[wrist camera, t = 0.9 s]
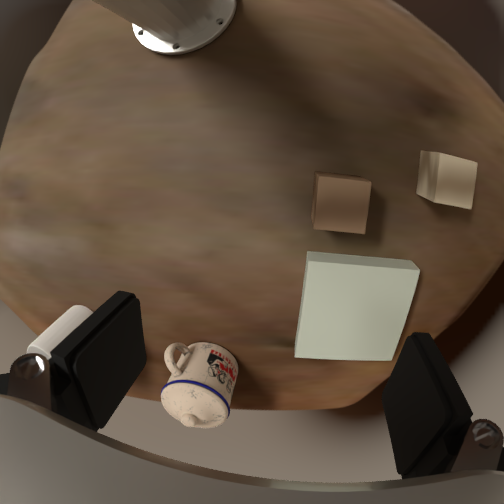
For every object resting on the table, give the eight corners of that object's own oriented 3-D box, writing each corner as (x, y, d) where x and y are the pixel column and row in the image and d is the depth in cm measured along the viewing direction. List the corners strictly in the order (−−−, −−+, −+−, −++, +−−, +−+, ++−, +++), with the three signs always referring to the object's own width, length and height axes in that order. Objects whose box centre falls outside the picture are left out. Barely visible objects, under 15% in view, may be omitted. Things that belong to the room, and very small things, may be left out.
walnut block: (314, 171, 30) (318, 176, 26) (359, 176, 30) (371, 182, 25) (310, 216, 32) (313, 229, 28) (354, 220, 32) (364, 234, 27)
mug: (131, 339, 42) (94, 390, 31) (86, 348, 45) (50, 390, 34) (105, 294, 40) (57, 339, 29) (62, 309, 43) (19, 347, 31)
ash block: (420, 150, 28) (440, 152, 23) (455, 158, 27) (477, 162, 22) (415, 193, 29) (434, 202, 25) (450, 199, 29) (471, 209, 24)
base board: (307, 251, 33) (308, 261, 31) (411, 260, 32) (420, 270, 29) (295, 342, 38) (294, 357, 35) (386, 346, 37) (391, 360, 34)
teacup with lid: (251, 376, 41) (239, 438, 30) (202, 389, 44) (181, 445, 33) (208, 314, 38) (179, 374, 27) (158, 334, 41) (123, 387, 30)
